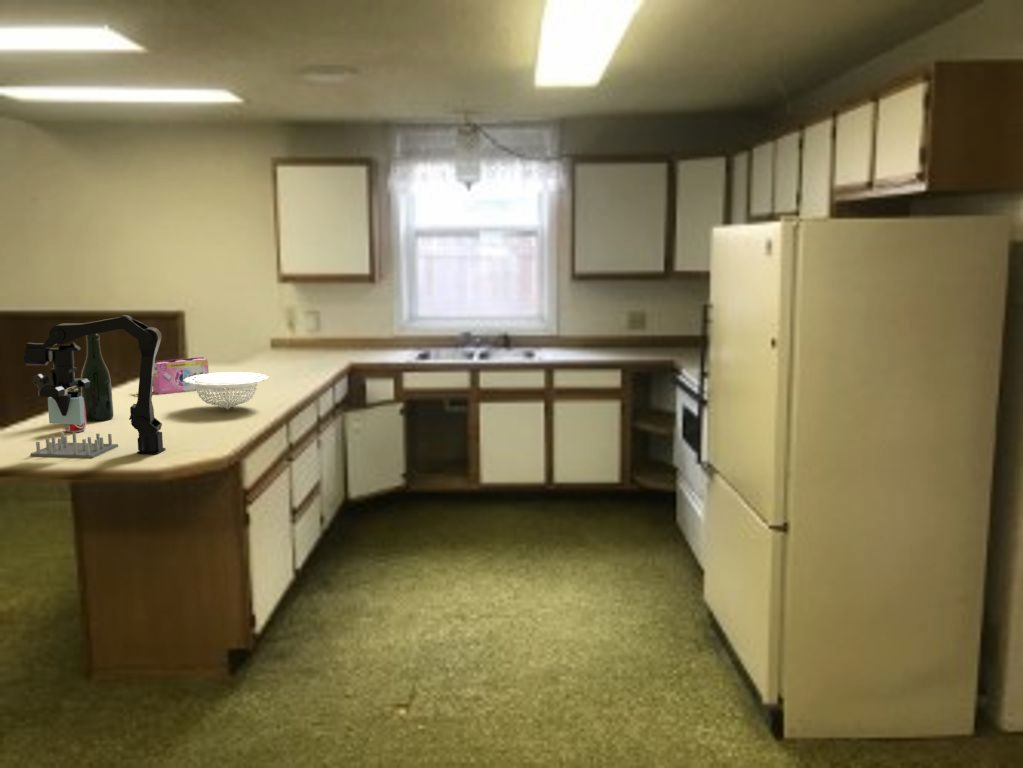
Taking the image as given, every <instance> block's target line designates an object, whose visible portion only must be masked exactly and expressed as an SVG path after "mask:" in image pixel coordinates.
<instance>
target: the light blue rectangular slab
mask: <svg viewBox="0 0 1023 768" xmlns="http://www.w3.org/2000/svg"><path fill="white" fill-rule="evenodd" d="M47 408H48V409H47V410H48V424H54V425H55V424H57V425H58V424H59V425H64V424H80V425H81V424H83V423H85V415H84V398H79V397H71V398H70V403H69V407H68V411H67V415H66V416H62V414H61V412H60V409H59V407H58V405H57V403H56V401H55V400H54V399H53V398H52V397H47Z"/></svg>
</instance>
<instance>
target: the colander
mask: <svg viewBox="0 0 1023 768" xmlns="http://www.w3.org/2000/svg"><path fill="white" fill-rule="evenodd" d="M194 377H195V378H194ZM269 377H270V376H268V375H266V374H264V373H263V374H262V373H257V372H248V371H244V372H243V371H227V372H225V371H224V372H211V373H210V372H209V374H201V375H194V376H190V377H187V378H185V379H184V380H183V381H185V382H186V383H189V384H194V385H195V386H196V389H197V390H196V393H197V395H198V397H199V398H200V399H201V401H203V402H205V403H206V404H209V405H212V406H218V407H220V408H225V409H226V410H227V409H228V410H230V408H233V407H237V406H238V405H242V404H244V403H248V402H249V401H250V400H252V399H253V397H254V396H255V394H256V391H257V390H258V389H257V386H258V383H260V382H265V380H268V378H269ZM192 379H193V380H192ZM208 388H209V389H208ZM214 393H215V394H214Z"/></svg>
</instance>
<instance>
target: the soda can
mask: <svg viewBox="0 0 1023 768" xmlns="http://www.w3.org/2000/svg"><path fill="white" fill-rule="evenodd" d="M79 398H82V396H81V395H80V396H79ZM84 415H85V423H83V424H81V425H80V424H63V428H64V431H66V432H67V433H69V434H72V433H76V434H77V433H80V432H83V431H85V430H86V429H87V421H86V412H85V402H84Z"/></svg>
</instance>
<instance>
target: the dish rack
mask: <svg viewBox="0 0 1023 768" xmlns="http://www.w3.org/2000/svg"><path fill="white" fill-rule="evenodd" d="M71 434H72V442H68V436H67V435H66V436H65V432H63V431H62V432H60V438H57V443H56V436H55V435H52V436H51V441H50V438H48V437H46V438H45V446H46V447H44V448H41V441H36V442H35V447H36V451H33V452H31V453H30V457H45V456H47V457H48V456H49V457H52V458H77V459H78V458H80V459H81V458H82V459H94V458H97V457H98V456H100V455H102V454H105V453H106V452H109V451H111V450H113V449H116V448H119V444H118V443H113V440H112V433H107V438H108V439H107V440H108V443H104V437H101V436H100V433H96V434H95V438H96V439H94V442H92V437H91V436H88V437H87V439H86V438H85V439H84V438H83V439H81V440H82V441H81V442H77V432H76V433H71ZM47 457H46V458H47Z"/></svg>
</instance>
